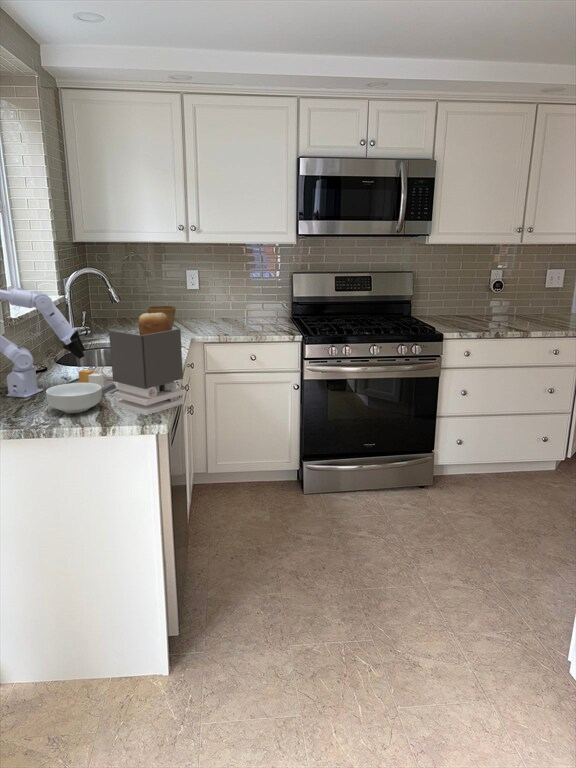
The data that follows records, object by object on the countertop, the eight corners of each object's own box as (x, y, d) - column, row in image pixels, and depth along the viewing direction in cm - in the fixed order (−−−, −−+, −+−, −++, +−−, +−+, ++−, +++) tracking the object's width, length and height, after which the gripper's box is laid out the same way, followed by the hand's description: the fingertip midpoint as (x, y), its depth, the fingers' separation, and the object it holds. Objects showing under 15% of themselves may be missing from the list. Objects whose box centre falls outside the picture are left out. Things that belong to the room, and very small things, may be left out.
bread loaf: (156, 369, 233) (152, 309, 227) (182, 373, 227) (179, 311, 221) (133, 377, 221) (128, 313, 215) (160, 381, 215) (155, 315, 209)
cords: (112, 393, 199) (112, 390, 198) (56, 389, 204) (56, 386, 203) (138, 380, 217) (138, 377, 216) (86, 377, 222) (86, 374, 221)
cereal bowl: (110, 411, 179) (108, 390, 177) (55, 421, 170) (53, 399, 168) (94, 399, 193) (92, 379, 191) (42, 407, 183) (39, 386, 182)
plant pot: (151, 340, 297) (149, 309, 293) (147, 335, 310) (145, 306, 306) (179, 338, 302) (178, 308, 298) (174, 333, 315) (172, 304, 311)
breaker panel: (97, 397, 195) (95, 379, 193) (56, 394, 198) (54, 376, 197) (127, 381, 214) (126, 365, 213) (89, 379, 218) (87, 363, 216)
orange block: (89, 384, 204) (88, 372, 203) (79, 383, 205) (78, 371, 204) (94, 382, 207) (93, 370, 206) (84, 381, 208) (83, 369, 207)
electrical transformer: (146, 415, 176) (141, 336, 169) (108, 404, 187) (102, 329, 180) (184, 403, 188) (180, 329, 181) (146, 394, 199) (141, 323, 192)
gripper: (67, 322, 193) (91, 354, 199) (69, 312, 206) (92, 342, 212) (49, 333, 193) (74, 364, 199) (52, 322, 206) (75, 352, 212)
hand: (82, 354), depth 206 cm, fingers open, 7 cm apart
